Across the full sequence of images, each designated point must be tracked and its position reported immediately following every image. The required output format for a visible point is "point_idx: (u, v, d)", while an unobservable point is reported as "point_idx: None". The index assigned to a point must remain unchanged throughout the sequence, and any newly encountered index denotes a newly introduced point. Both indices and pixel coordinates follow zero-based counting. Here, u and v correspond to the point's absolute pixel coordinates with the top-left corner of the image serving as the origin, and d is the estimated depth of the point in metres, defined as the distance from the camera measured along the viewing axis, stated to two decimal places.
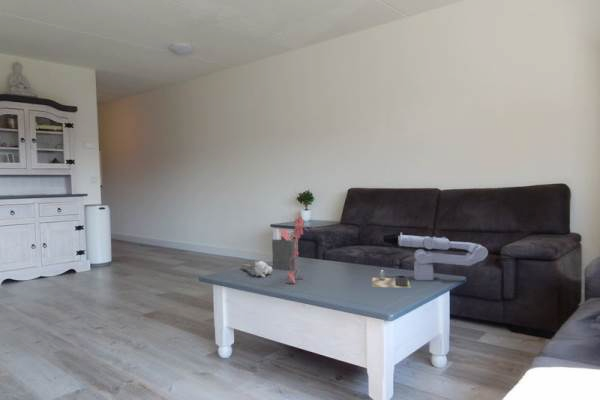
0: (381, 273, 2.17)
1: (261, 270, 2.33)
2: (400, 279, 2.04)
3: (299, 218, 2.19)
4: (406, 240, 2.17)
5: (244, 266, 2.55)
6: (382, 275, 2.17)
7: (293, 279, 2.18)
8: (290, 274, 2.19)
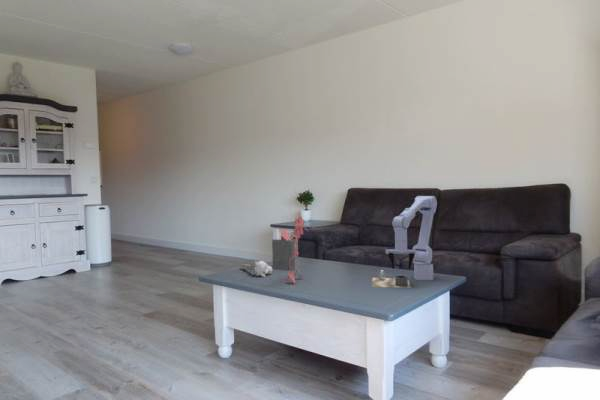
0: (381, 273, 2.17)
1: (261, 270, 2.34)
2: (400, 279, 2.04)
3: (299, 218, 2.19)
4: None
5: (243, 266, 2.56)
6: (382, 275, 2.17)
7: (293, 279, 2.18)
8: (290, 274, 2.19)
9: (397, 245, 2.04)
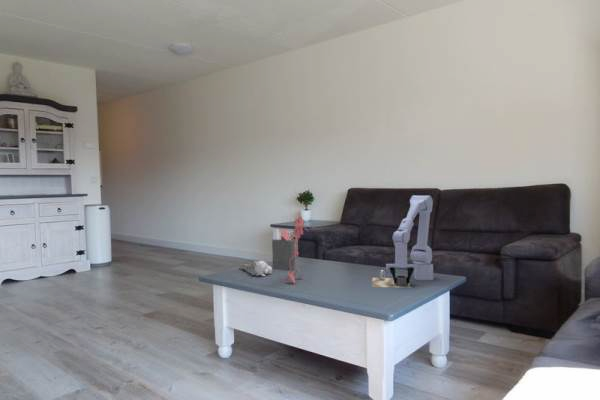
0: (381, 273, 2.17)
1: (261, 270, 2.34)
2: (400, 279, 2.04)
3: (299, 218, 2.20)
4: None
5: (243, 266, 2.56)
6: (382, 275, 2.17)
7: (293, 279, 2.18)
8: (290, 274, 2.19)
9: (397, 260, 2.04)
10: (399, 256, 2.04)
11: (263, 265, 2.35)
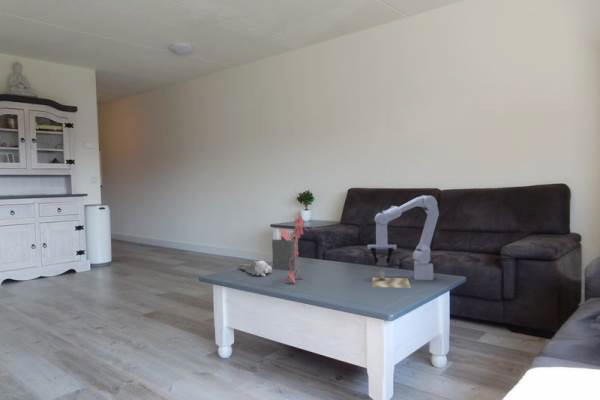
0: (381, 273, 2.17)
1: (262, 269, 2.35)
2: (380, 259, 2.15)
3: (299, 218, 2.19)
4: None
5: (242, 266, 2.56)
6: (382, 275, 2.17)
7: (293, 279, 2.18)
8: (290, 274, 2.19)
9: (378, 240, 2.16)
10: (379, 237, 2.15)
11: (263, 265, 2.36)
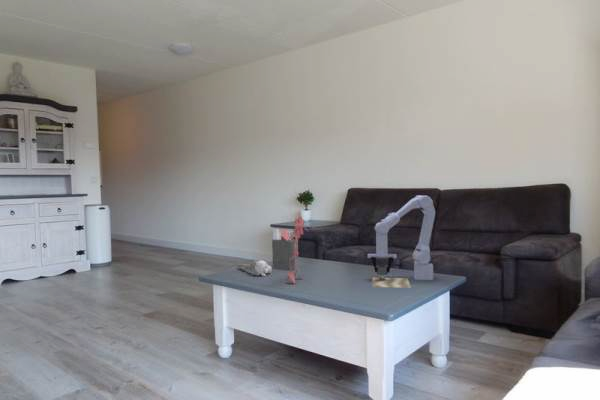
0: None
1: (262, 269, 2.36)
2: (381, 268, 2.15)
3: (299, 218, 2.20)
4: (387, 249, 2.17)
5: (241, 266, 2.56)
6: (382, 275, 2.17)
7: (293, 279, 2.18)
8: (290, 274, 2.19)
9: (378, 250, 2.16)
10: (380, 246, 2.15)
11: (263, 265, 2.36)
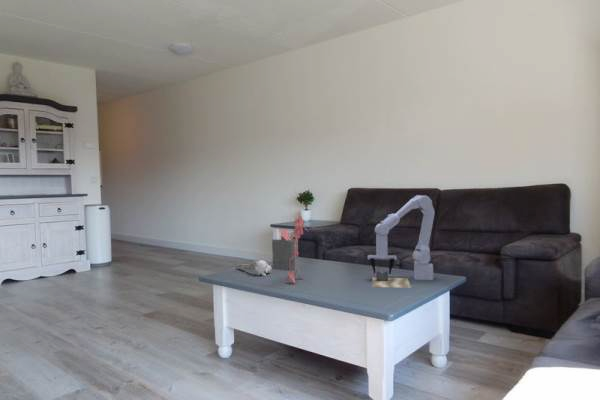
0: None
1: (262, 269, 2.36)
2: (380, 274, 2.15)
3: (299, 218, 2.19)
4: (387, 251, 2.17)
5: (240, 266, 2.56)
6: None
7: (293, 279, 2.18)
8: (290, 274, 2.19)
9: (378, 251, 2.16)
10: (380, 248, 2.15)
11: (264, 264, 2.37)
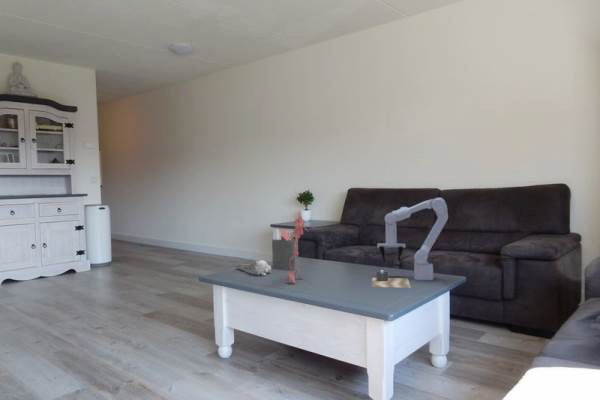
0: None
1: (263, 269, 2.37)
2: (380, 274, 2.15)
3: (299, 218, 2.19)
4: (396, 239, 2.24)
5: (239, 266, 2.56)
6: None
7: (293, 279, 2.18)
8: (290, 274, 2.19)
9: (387, 239, 2.23)
10: (389, 236, 2.22)
11: (264, 264, 2.38)
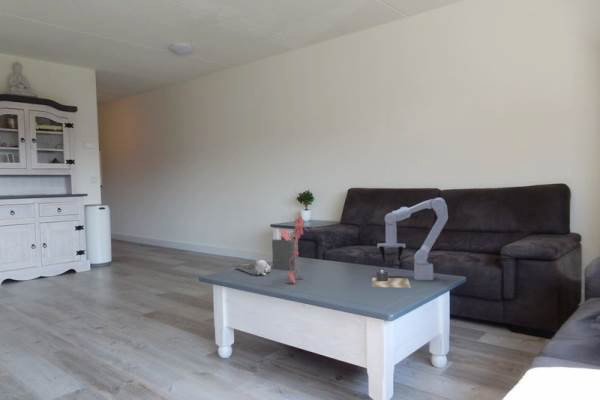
0: None
1: (263, 268, 2.38)
2: (380, 274, 2.15)
3: (299, 218, 2.20)
4: (396, 239, 2.24)
5: (239, 266, 2.57)
6: None
7: (293, 279, 2.18)
8: (290, 274, 2.19)
9: (387, 239, 2.23)
10: (389, 236, 2.22)
11: (264, 264, 2.38)
